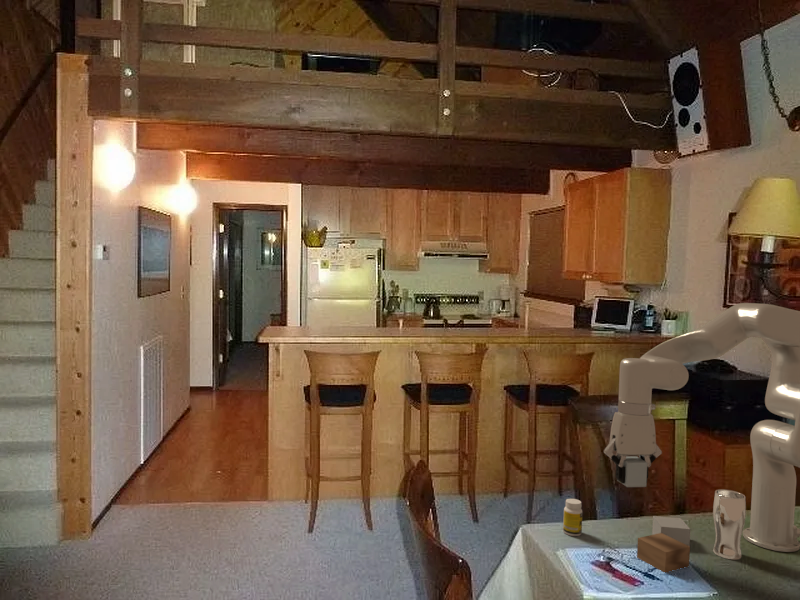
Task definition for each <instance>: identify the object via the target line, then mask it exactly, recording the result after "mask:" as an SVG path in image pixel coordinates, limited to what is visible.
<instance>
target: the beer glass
mask: <svg viewBox="0 0 800 600" xmlns="http://www.w3.org/2000/svg"><path fill="white" fill-rule="evenodd" d="M713 498H714V500H713V506H712V508H713V509H712V511H713V512H712V515H713V523H714V529H715V530H714V531H715V541H714V545H713V549H712V550H713V553H714V554H715V555H717V556H718V557H720V558H722V559H727V560H733V561H735V560H736V561H737V560H741V559H742V551H741V539H742V536H743V530H744V529H745V528H744V527H745V522H746V514H747V513H746V512H747V504H746V503H747V502H746V496H745V494H743V493H741V492H738V491H735V490H731V489H716V490H715V491H714V497H713Z"/></svg>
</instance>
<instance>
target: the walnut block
mask: <svg viewBox="0 0 800 600" xmlns="http://www.w3.org/2000/svg"><path fill="white" fill-rule="evenodd" d="M636 550H637V552H636V558H637V559H639V560H640V561H642V562H644V563H646V564H648V565H649V564H650V566H651V565H652V566H651V567H653V568H655V569H657V570H659V571H660V570H661V571H660V572H663V573H664V572H665V573H664V574H666V572H667V573H670V572H669V571H671V572H673V571H672V570H675V571H677V569H679V570H681V569H680V568H683V569H685V568H684V567H686V568H689V567H690V551H691V546H688V545H686V544H683V543H681V542H679V541H677V540H675V539H673V538H671V537H669V536H667V535H665V534H663V533H659V534H654V535H653V534H650V535H646V536H641V537H637V549H636ZM688 566H689V567H688Z"/></svg>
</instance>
